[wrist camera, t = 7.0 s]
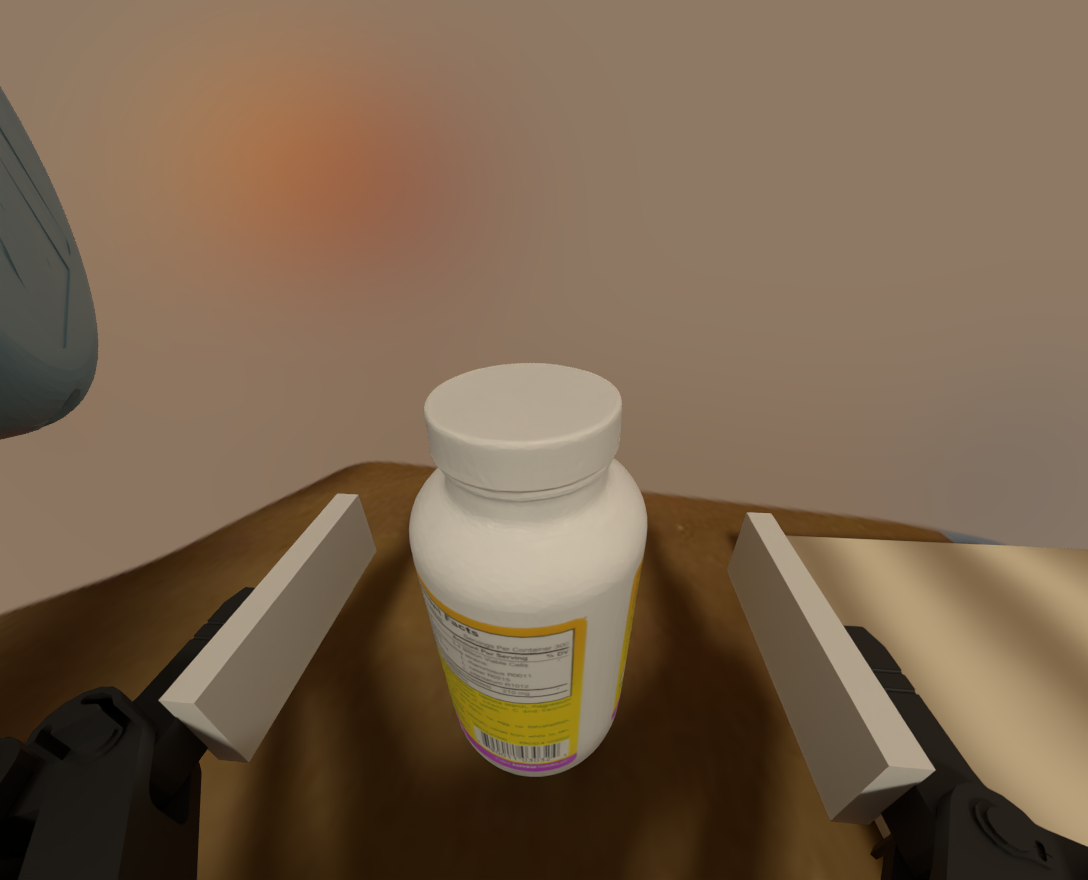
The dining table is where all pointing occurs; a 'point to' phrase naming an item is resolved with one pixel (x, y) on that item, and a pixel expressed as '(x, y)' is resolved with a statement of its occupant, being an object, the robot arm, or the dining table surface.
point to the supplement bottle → (529, 559)
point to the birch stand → (982, 654)
